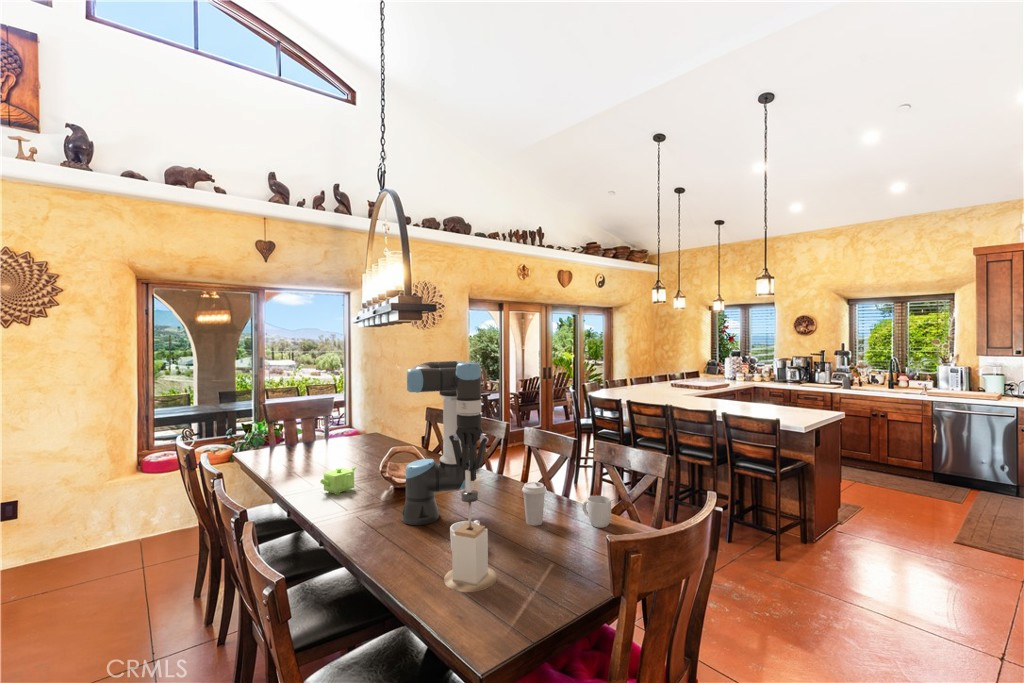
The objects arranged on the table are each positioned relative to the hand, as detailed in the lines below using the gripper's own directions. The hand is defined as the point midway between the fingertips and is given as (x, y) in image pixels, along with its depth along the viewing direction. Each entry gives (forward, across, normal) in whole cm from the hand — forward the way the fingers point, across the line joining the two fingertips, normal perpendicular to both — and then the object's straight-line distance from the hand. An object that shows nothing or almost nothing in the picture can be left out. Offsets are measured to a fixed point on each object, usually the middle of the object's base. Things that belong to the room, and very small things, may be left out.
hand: (469, 490), depth 142 cm
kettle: (+27, -97, +50) cm, 113 cm away
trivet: (+27, 0, 0) cm, 27 cm away
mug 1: (+28, -11, +19) cm, 35 cm away
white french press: (+27, 0, 0) cm, 27 cm away
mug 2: (+28, +26, +57) cm, 69 cm away
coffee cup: (+28, +3, +49) cm, 56 cm away
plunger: (+16, 0, 0) cm, 16 cm away
